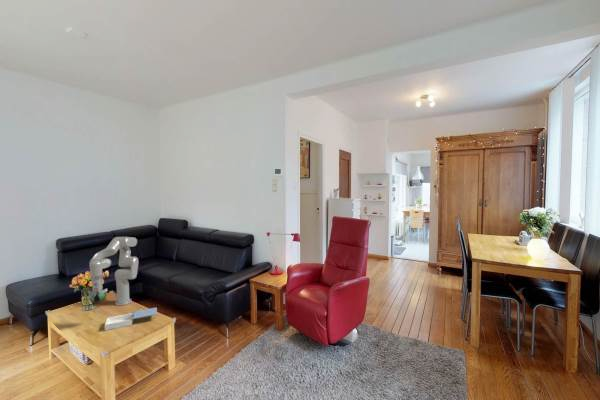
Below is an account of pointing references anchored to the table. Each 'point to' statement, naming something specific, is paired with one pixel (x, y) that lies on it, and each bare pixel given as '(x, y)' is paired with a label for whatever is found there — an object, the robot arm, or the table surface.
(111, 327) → the white rectangular tray
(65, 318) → the table surface
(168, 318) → the table surface
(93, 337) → the table surface
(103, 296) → the food container
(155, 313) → the lid
